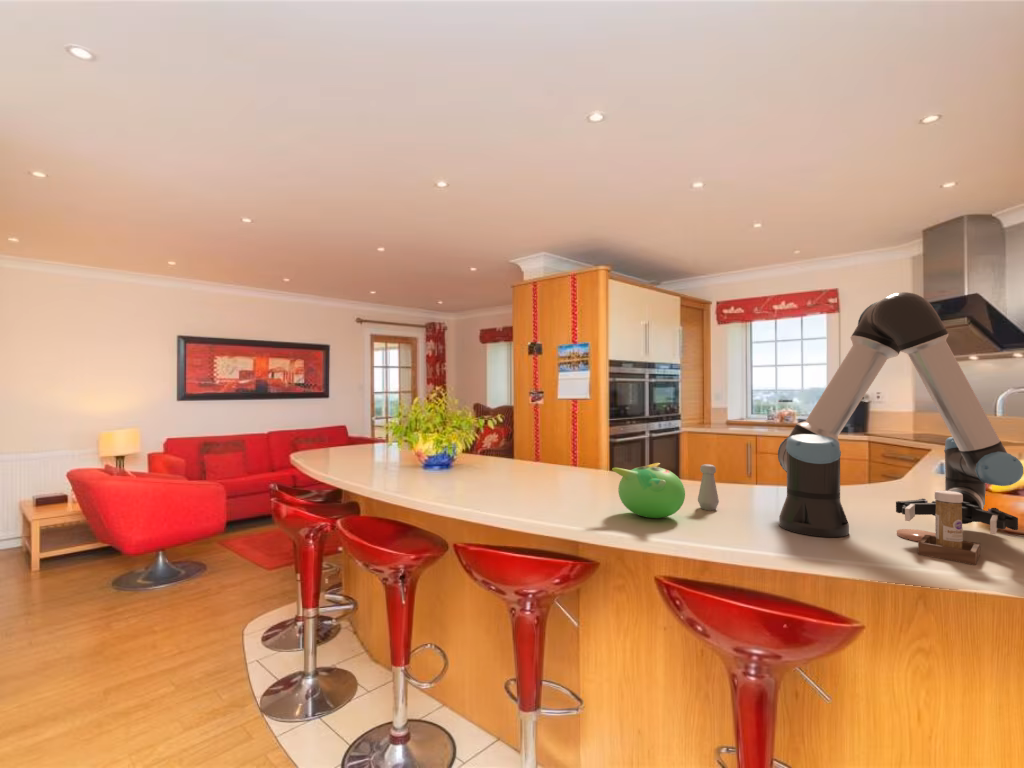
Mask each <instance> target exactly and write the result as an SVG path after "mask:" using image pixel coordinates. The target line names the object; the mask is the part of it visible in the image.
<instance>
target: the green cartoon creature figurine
mask: <svg viewBox="0 0 1024 768" xmlns="http://www.w3.org/2000/svg"><path fill="white" fill-rule="evenodd" d="M660 465H661V463H660V462H655V463H652V464H651V463H650V464H648V465H643V466H639V467H634V468H633V469H627V468H626V469H625V468H621V467H612V469H611V470H612V471H613V472H614V473H616V474H618V475H619V476H621V479H620V481H619V482H618V483H619V484H618V496H619V500H620V501H621V503H622V504H623V506H624V507H625V508H626V509H627V510H629V511H630V512H632V513H633V514H635V515H637V516H641V517H643V518H648V519H661V518H666V517H669V516H672V515H674V514H676V513H677V512H678V511H679V510H680V509H681V508H682V506H683V505H684V502H685V498H686V490H685V486H684V484H683V482H682V480H681V479H680V478H679V476H677V475H676V474H675V473H674V472H672V471H671V470H669V469H666V468H662V467H660Z"/></svg>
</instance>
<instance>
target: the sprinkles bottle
mask: <svg viewBox="0 0 1024 768" xmlns="http://www.w3.org/2000/svg"><path fill="white" fill-rule="evenodd" d="M934 501H935V502H936V514H935V516H934V517H935V519H934V520H935V527H934V528H935V533H936V545H940V546H946V547H951V548H957V549H962V541H964V540H963V539H964V538H963V537H964V536H963V534H964V533H963V529H964V528H963V524H962V502H963V494H961V493H959V492H953V491H945V490H935V491H934Z"/></svg>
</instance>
